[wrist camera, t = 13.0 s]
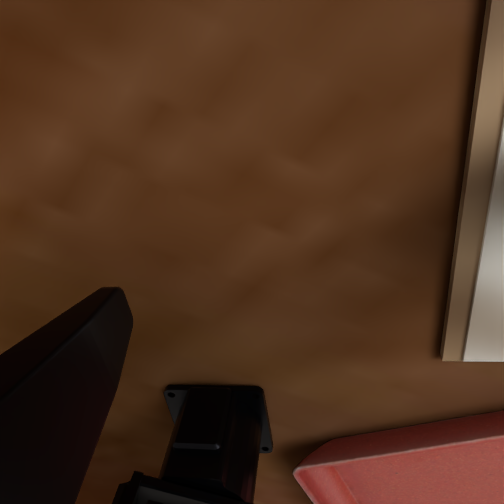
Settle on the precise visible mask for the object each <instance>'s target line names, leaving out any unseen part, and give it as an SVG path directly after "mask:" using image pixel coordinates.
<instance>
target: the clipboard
mask: <svg viewBox="0 0 504 504" xmlns="http://www.w3.org/2000/svg"><path fill="white" fill-rule="evenodd" d="M440 354H441V358H442V361H487V362H504V0H487V1H486V8H485V16H484V24H483V31H482V39H481V46H480V54H479V62H478V69H477V77H476V84H475V92H474V99H473V107H472V115H471V122H470V130H469V137H468V145H467V153H466V160H465V168H464V175H463V183H462V191H461V198H460V206H459V213H458V221H457V229H456V236H455V244H454V251H453V259H452V267H451V274H450V282H449V289H448V297H447V304H446V312H445V320H444V327H443V335H442V342H441V350H440Z"/></svg>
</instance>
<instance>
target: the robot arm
mask: <svg viewBox="0 0 504 504" xmlns="http://www.w3.org/2000/svg"><path fill="white" fill-rule="evenodd" d="M132 328H133V316H132V313H131V310H130V307H129V305H128V302H127V299H126V296H125V294H124V291H123V290H122V289H121V288H120V287H102V288H100V289H98V290H97V291H95V292H94V293H92V294H91V295H89V296H88V297H86V298H85V299H83V300H82V301H80V302H79V303H77V304H76V305H74V306H73V307H71V308H70V309H68V310H67V311H65V312H64V313H62V314H61V315H59V316H58V317H56V318H55V319H53V320H52V321H50V322H49V323H47V324H46V325H44V326H43V327H41V328H40V329H38V330H37V331H35V332H34V333H32V334H31V335H29V336H28V337H26V338H25V339H23V340H22V341H20V342H19V343H17V344H16V345H14V346H13V347H11V348H10V349H8V350H7V351H5V352H4V353H2V354H1V355H0V504H75V501H76V499H77V496H78V493H79V491H80V488H81V485H82V483H83V480H84V477H85V475H86V472H87V469H88V467H89V464H90V461H91V458H92V456H93V453H94V450H95V448H96V445H97V442H98V440H99V437H100V434H101V432H102V429H103V426H104V424H105V421H106V418H107V415H108V413H109V410H110V407H111V405H112V402H113V399H114V396H115V393H116V391H117V387H118V384H119V380H120V376H121V372H122V368H123V364H124V360H125V356H126V352H127V348H128V344H129V340H130V336H131V332H132ZM164 396H165V399H166V402H167V405H168V407H169V410H170V413H171V416H172V419H173V421H174V424H175V425H174V429H173V432H172V435H171V439H170V442H169V445H168V448H167V452H166V455H165V458H164V462H163V465H162V468H161V471H160V475H159V478H154V477H150V476H146V475H143V474H144V473H142V472H138V471H134V473H133V476H132V478H131V481H129V482H127V483H122V484H119V486H118V489H117V492H116V494H115V497H114V500H113V502H112V504H253V500H254V492H255V484H256V476H257V468H258V460H259V453H270V452H272V450H273V441H272V435H271V429H270V423H269V418H268V412H267V406H266V400H265V395H264V391H263V389H262V388H260V387H258V386H215V385H168V386H167V387H166V388H165V391H164Z"/></svg>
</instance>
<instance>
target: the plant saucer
mask: <svg viewBox="0 0 504 504" xmlns="http://www.w3.org/2000/svg"><path fill="white" fill-rule="evenodd" d="M293 475H294V477H295V479H296V480H297V482H298V483H299V484H300V486H301V487H302V488H303V490H304V491H305V492H306V494H307V495H308V497H309V498H310V499H311V501H312V502H313V503H314V504H504V410H502V411H497V412H491V413H485V414H479V415H473V416H467V417H461V418H455V419H449V420H443V421H437V422H431V423H425V424H420V425H414V426H408V427H402V428H396V429H390V430H384V431H378V432H372V433H366V434H359V435H354V436H348V437H342V438H336V439H333V440H331V441H329V442H327V443H325V444H324V445H322V446H321V447H319V448H318V449H316V450H315V451H313V452H312V453H311V454H309V455H308V456H307V457H305V458H304V459H303V460H302V461H301V462H300V463H299V464H298V465H297V466H296V467H295V468H294V470H293Z"/></svg>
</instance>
